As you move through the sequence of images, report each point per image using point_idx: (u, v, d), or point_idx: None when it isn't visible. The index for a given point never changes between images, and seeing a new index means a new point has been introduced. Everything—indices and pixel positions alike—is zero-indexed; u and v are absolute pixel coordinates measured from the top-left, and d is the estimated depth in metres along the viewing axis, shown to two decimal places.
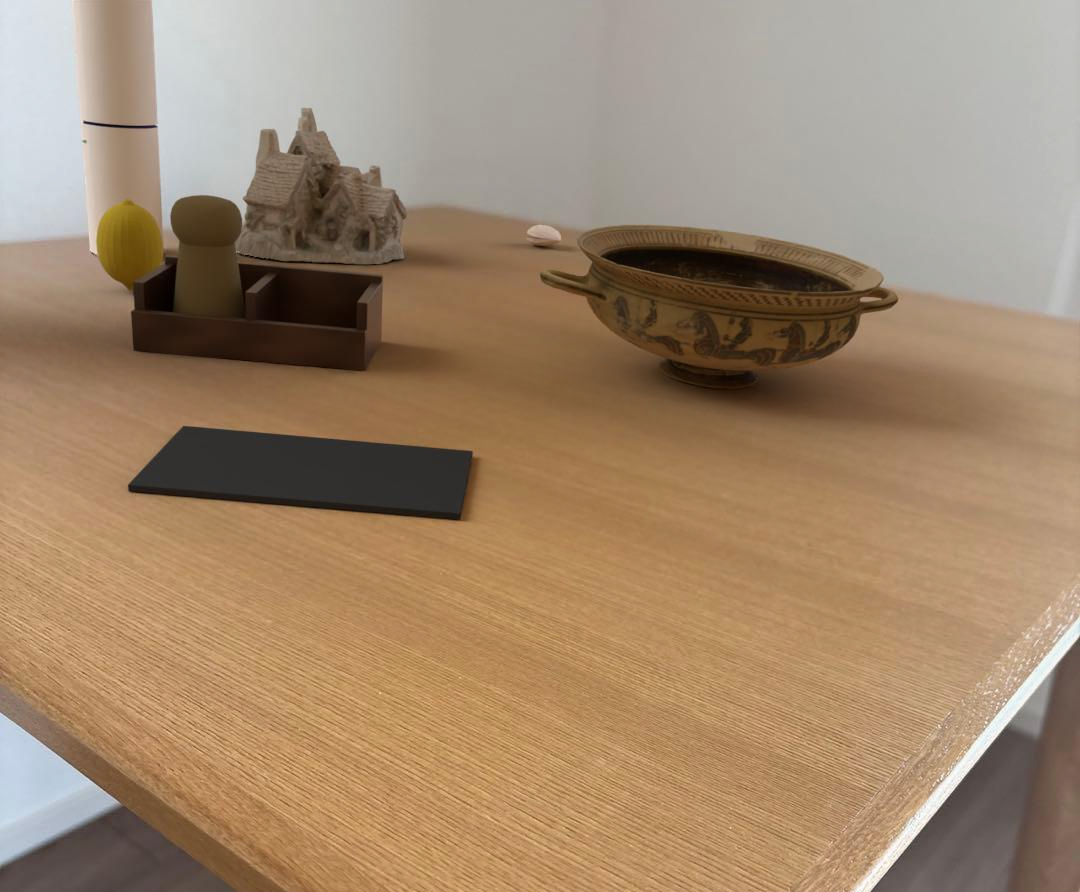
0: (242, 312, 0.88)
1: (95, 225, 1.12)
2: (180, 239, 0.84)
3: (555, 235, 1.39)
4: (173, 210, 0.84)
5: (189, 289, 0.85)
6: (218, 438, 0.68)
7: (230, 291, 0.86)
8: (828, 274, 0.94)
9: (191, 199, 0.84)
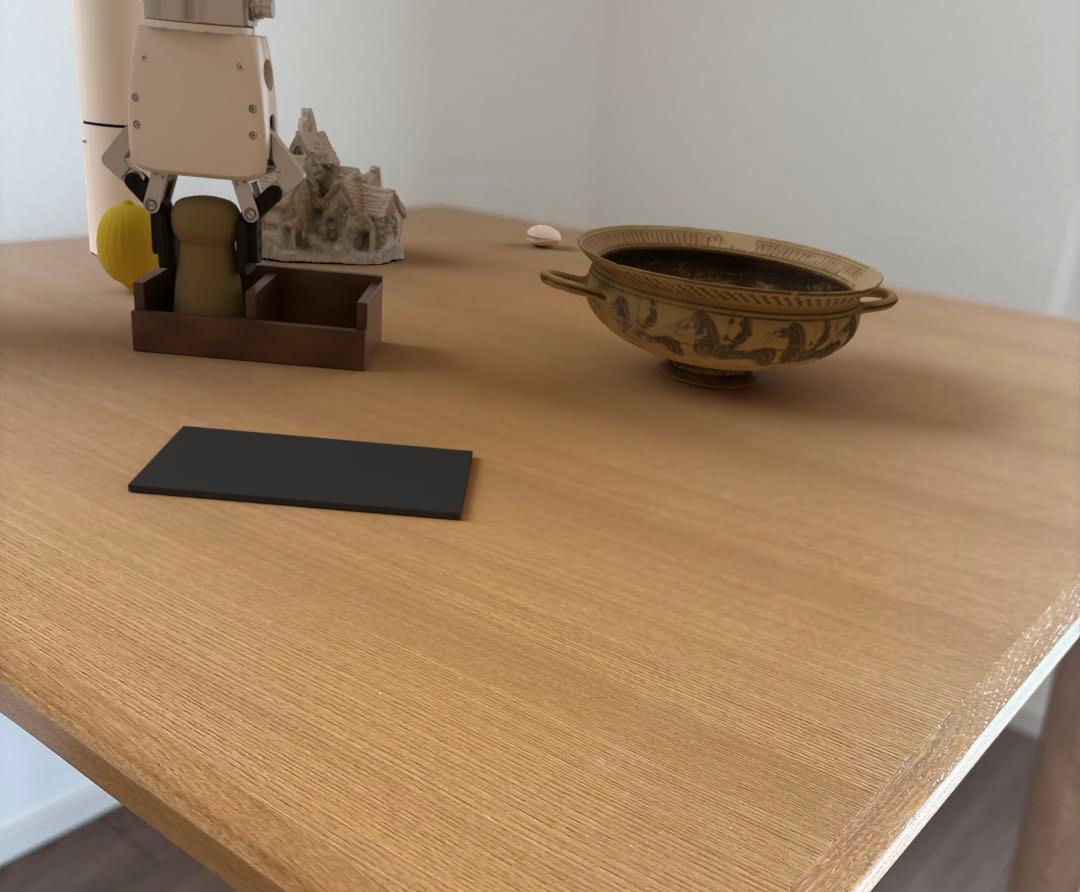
0: (242, 312, 0.88)
1: (95, 225, 1.12)
2: (180, 239, 0.84)
3: (555, 235, 1.39)
4: (173, 210, 0.84)
5: (189, 289, 0.85)
6: (218, 438, 0.68)
7: (230, 291, 0.86)
8: (828, 274, 0.94)
9: (191, 199, 0.84)
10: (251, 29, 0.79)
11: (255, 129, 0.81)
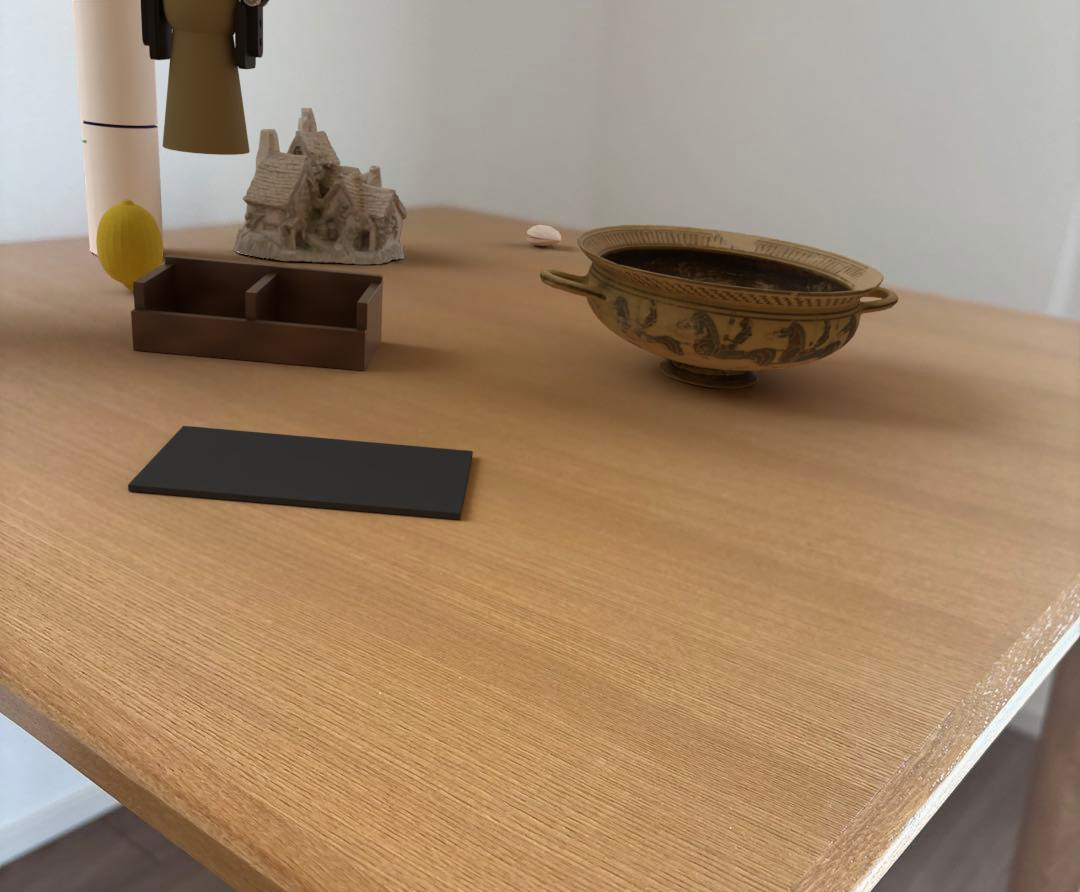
0: (241, 115, 0.80)
1: (95, 225, 1.12)
2: (173, 25, 0.77)
3: (555, 235, 1.39)
4: None
5: (183, 82, 0.78)
6: (218, 438, 0.68)
7: (228, 87, 0.79)
8: (828, 274, 0.94)
9: None
10: None
11: None
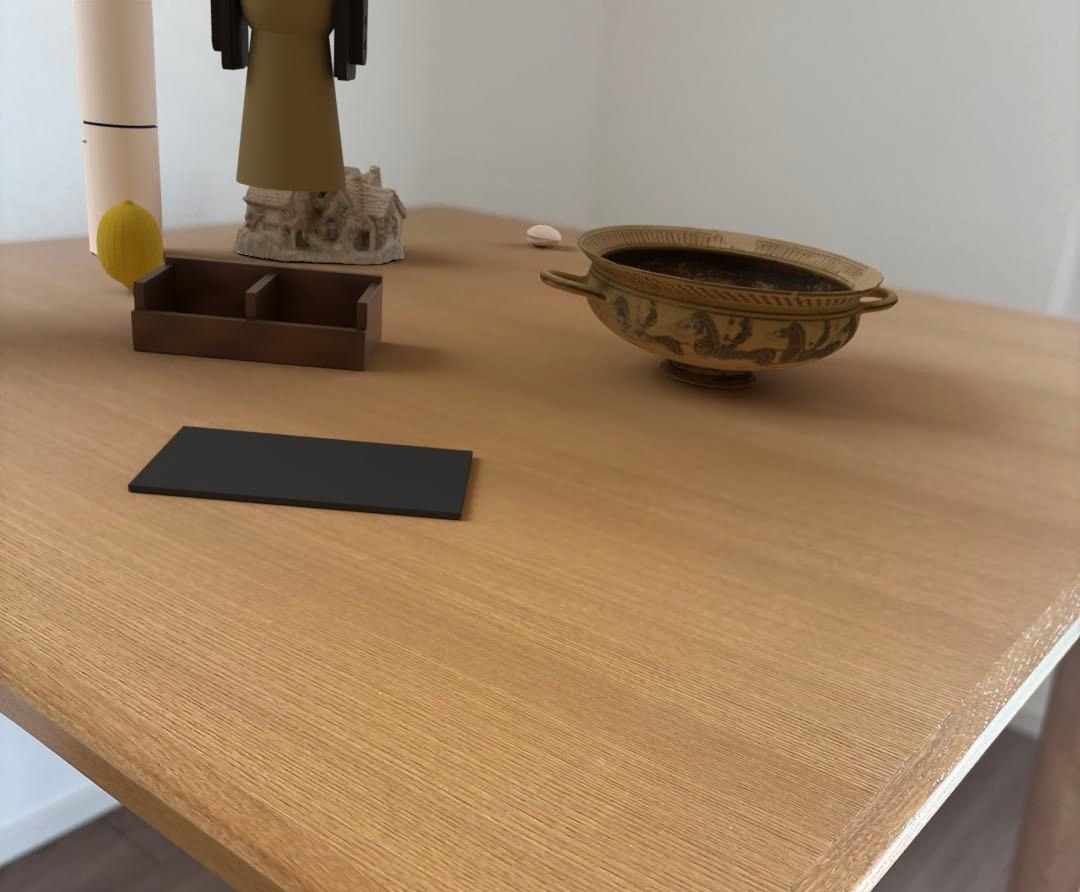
0: (338, 139, 0.62)
1: (95, 225, 1.12)
2: (254, 24, 0.58)
3: (555, 235, 1.39)
4: None
5: (266, 98, 0.59)
6: (218, 438, 0.68)
7: (323, 104, 0.60)
8: (828, 274, 0.94)
9: None
10: None
11: None
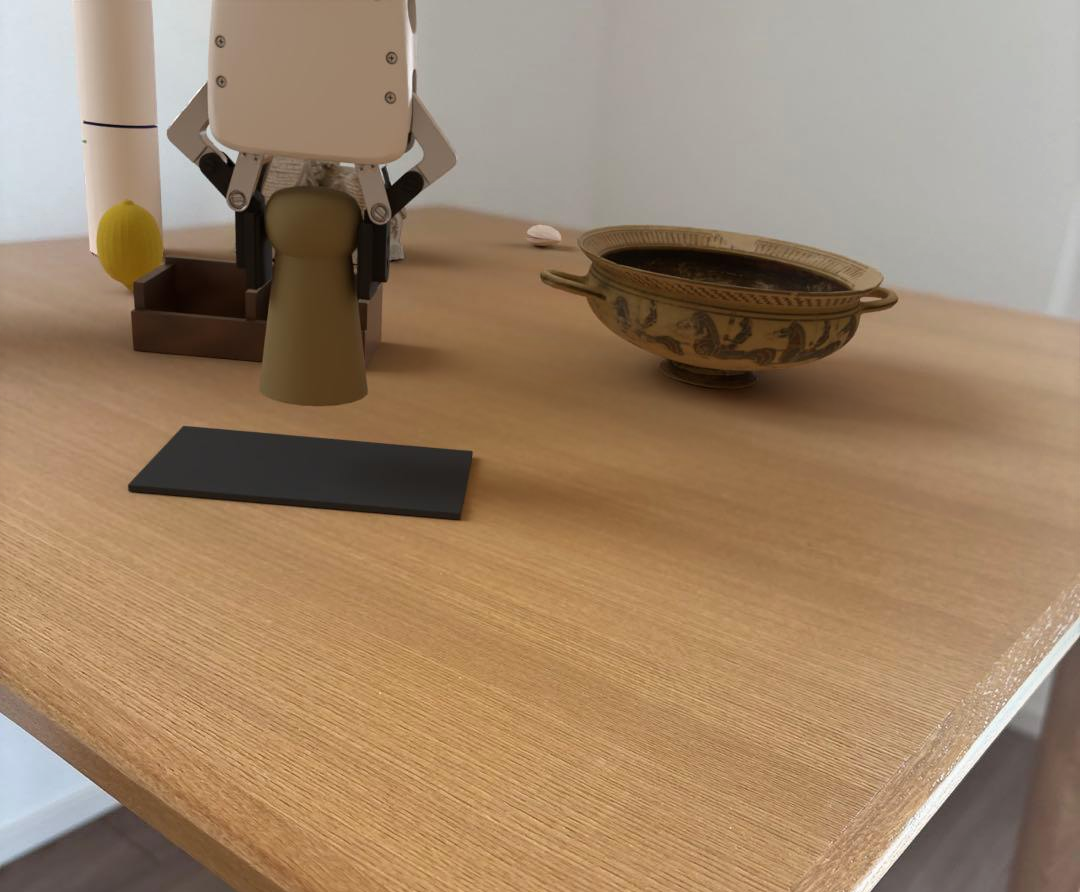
0: (360, 350, 0.63)
1: (95, 225, 1.12)
2: (278, 248, 0.59)
3: (555, 235, 1.39)
4: (269, 207, 0.58)
5: (290, 319, 0.60)
6: (218, 438, 0.68)
7: (346, 322, 0.61)
8: (828, 274, 0.94)
9: (295, 191, 0.58)
10: None
11: (394, 88, 0.55)
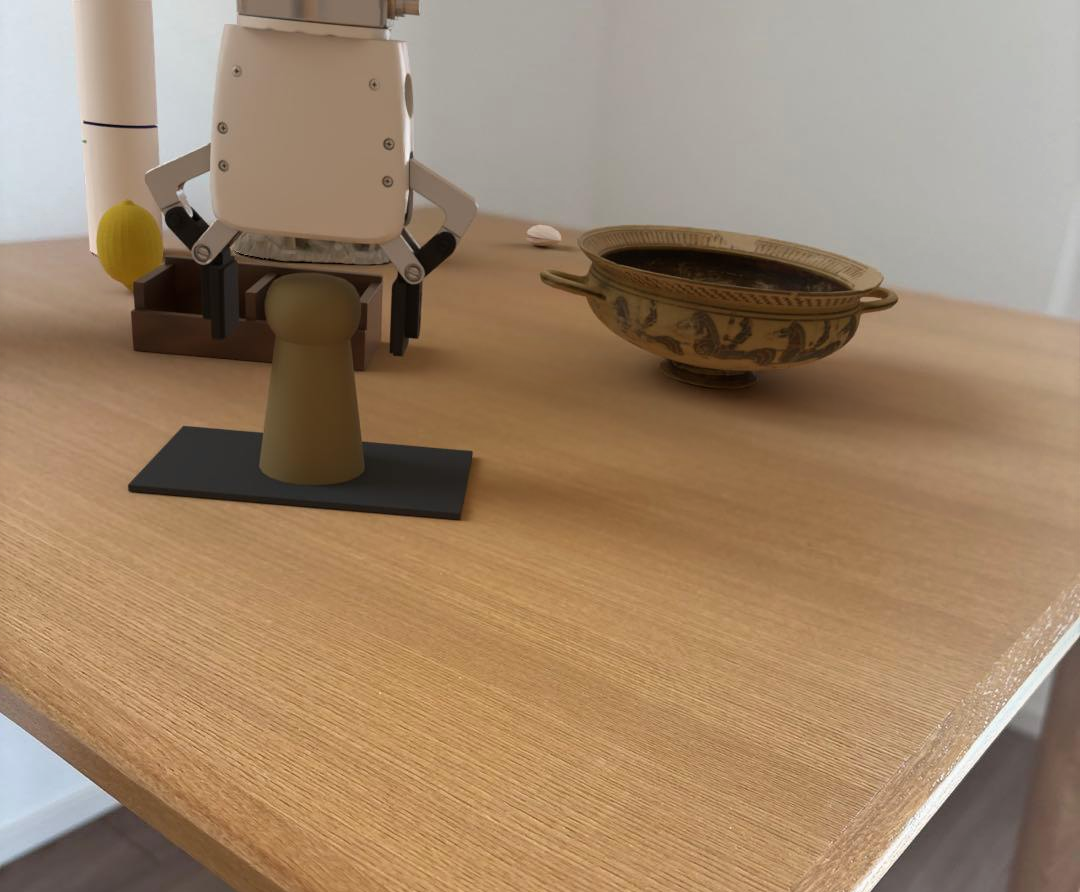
0: (358, 429, 0.64)
1: (95, 225, 1.12)
2: (278, 335, 0.61)
3: (555, 235, 1.39)
4: (270, 296, 0.60)
5: (290, 402, 0.62)
6: (218, 438, 0.68)
7: (344, 404, 0.63)
8: (828, 274, 0.94)
9: (295, 280, 0.60)
10: (388, 31, 0.56)
11: (391, 173, 0.57)
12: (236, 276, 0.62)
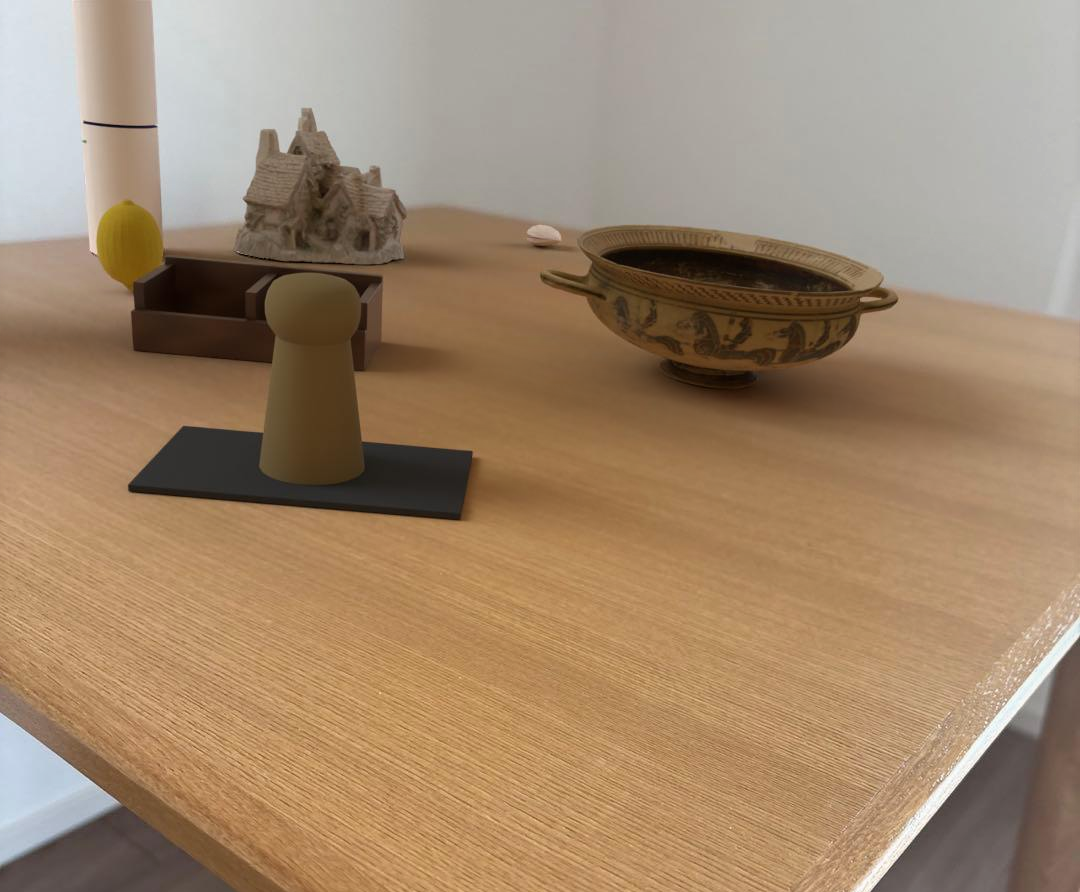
0: (358, 429, 0.64)
1: (95, 225, 1.12)
2: (278, 335, 0.61)
3: (555, 235, 1.39)
4: (270, 295, 0.60)
5: (290, 402, 0.62)
6: (218, 438, 0.68)
7: (344, 404, 0.63)
8: (828, 274, 0.94)
9: (295, 280, 0.60)
10: None
11: None
12: None
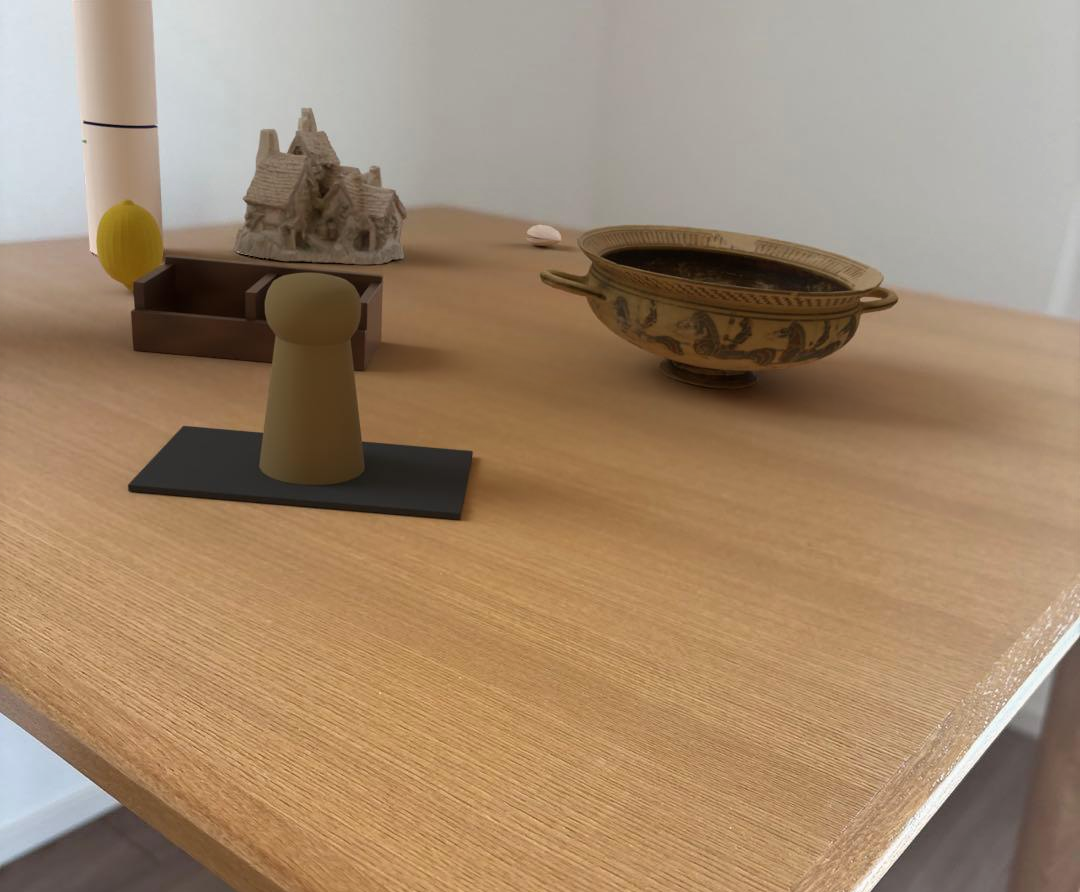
0: (358, 429, 0.64)
1: (95, 225, 1.12)
2: (278, 335, 0.61)
3: (555, 235, 1.39)
4: (270, 295, 0.60)
5: (290, 402, 0.62)
6: (218, 438, 0.68)
7: (344, 404, 0.63)
8: (828, 274, 0.94)
9: (295, 280, 0.60)
10: None
11: None
12: None
